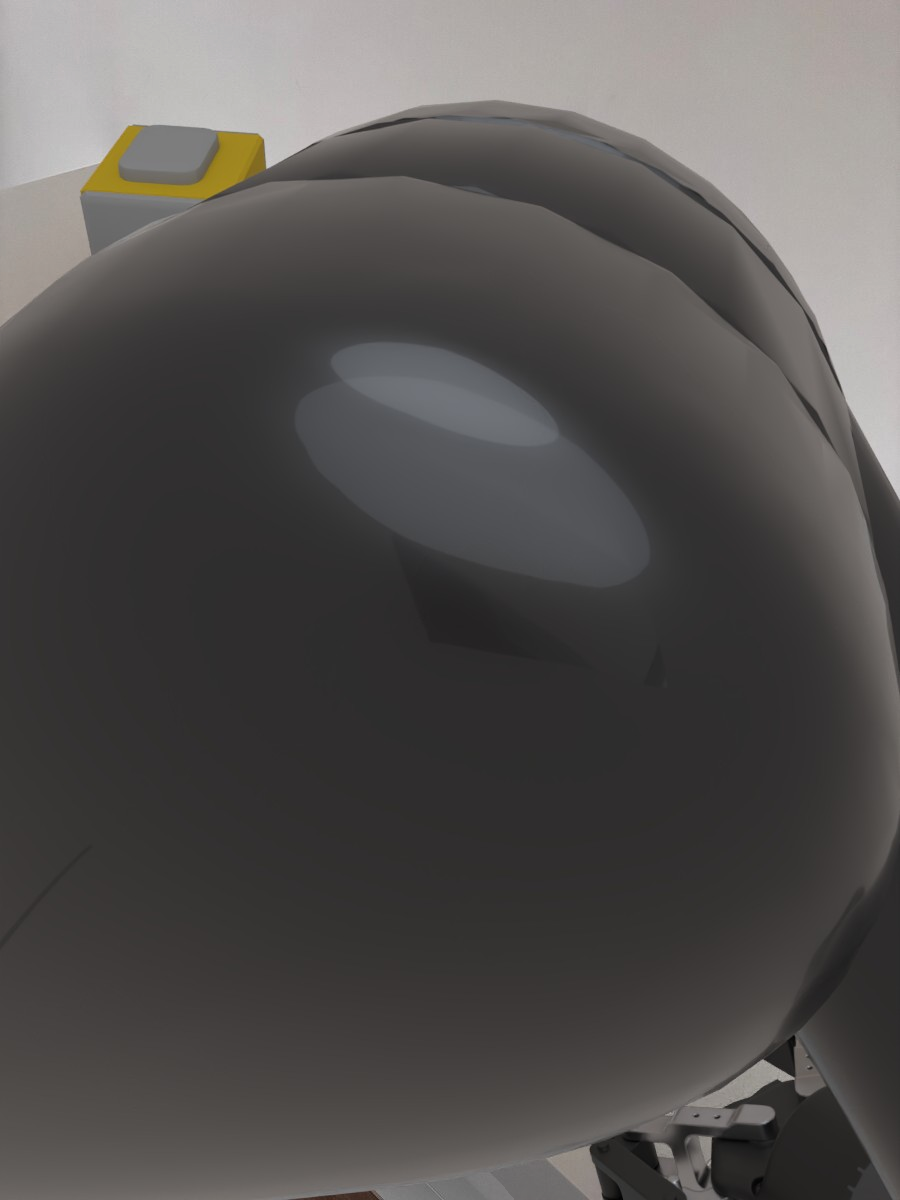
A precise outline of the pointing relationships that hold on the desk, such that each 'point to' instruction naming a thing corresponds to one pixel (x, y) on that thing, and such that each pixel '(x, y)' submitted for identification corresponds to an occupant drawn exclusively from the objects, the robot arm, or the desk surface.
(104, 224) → the alarm clock
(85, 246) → the desk surface
